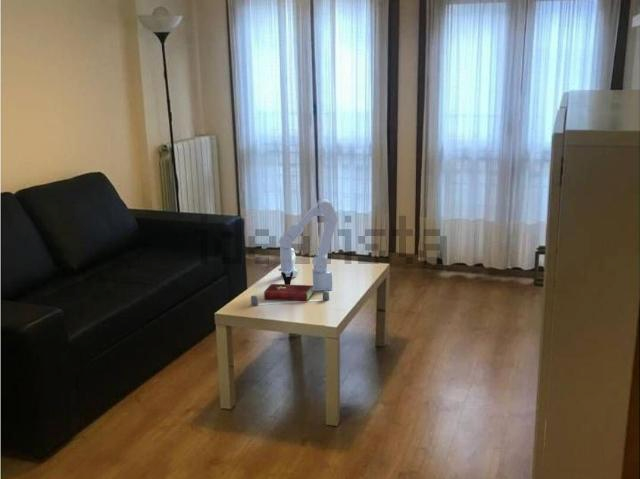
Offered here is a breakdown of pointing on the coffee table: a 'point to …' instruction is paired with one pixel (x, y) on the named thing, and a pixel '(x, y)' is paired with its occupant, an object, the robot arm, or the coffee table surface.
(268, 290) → the hardcover book
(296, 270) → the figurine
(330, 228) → the robot arm
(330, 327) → the coffee table surface
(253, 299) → the strip
